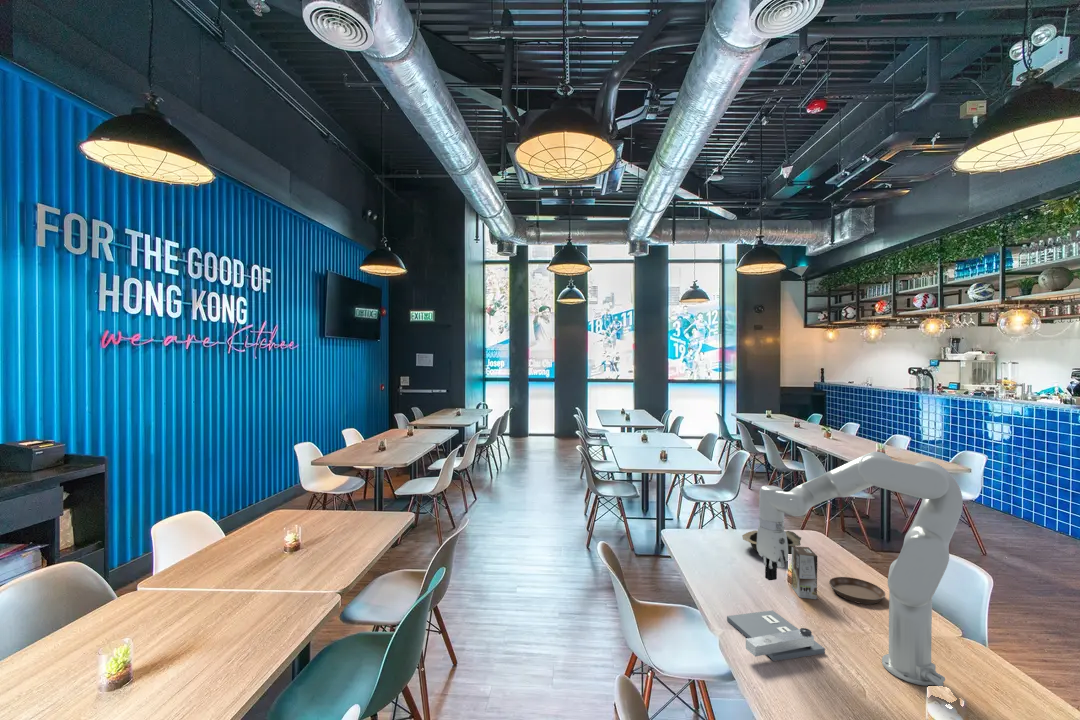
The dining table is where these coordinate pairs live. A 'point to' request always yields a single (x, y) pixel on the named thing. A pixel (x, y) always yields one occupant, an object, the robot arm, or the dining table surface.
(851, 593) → the plant saucer
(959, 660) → the dining table surface
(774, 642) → the swing bar
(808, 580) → the coffee box
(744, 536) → the stone bowl
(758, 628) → the label board
